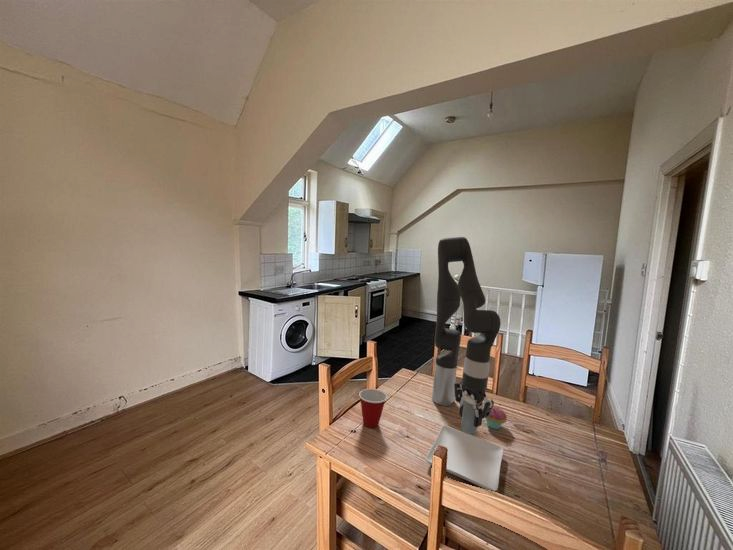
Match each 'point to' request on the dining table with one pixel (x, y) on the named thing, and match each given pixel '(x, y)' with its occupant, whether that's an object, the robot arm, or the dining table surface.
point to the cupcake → (496, 417)
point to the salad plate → (470, 457)
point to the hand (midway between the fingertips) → (469, 421)
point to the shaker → (468, 415)
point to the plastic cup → (372, 406)
